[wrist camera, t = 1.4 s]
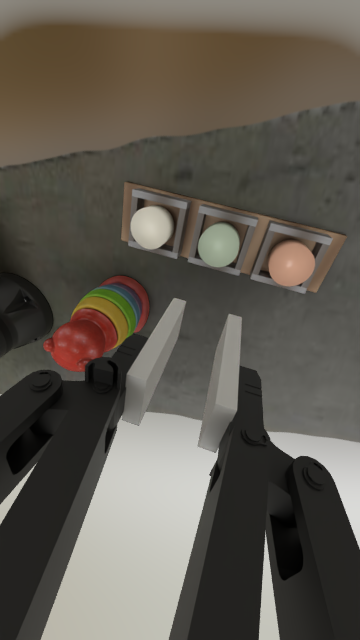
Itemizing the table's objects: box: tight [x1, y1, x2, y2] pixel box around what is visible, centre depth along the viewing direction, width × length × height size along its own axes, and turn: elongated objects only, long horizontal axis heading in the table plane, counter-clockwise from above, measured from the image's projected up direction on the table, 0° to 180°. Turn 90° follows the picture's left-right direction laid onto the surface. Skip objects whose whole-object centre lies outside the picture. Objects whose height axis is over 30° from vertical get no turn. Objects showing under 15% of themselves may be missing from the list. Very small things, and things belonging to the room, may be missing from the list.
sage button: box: [198, 222, 240, 267], centre depth 31 cm, size 5×5×3 cm
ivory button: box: [131, 205, 174, 249], centre depth 32 cm, size 5×5×3 cm
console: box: [121, 182, 347, 294], centre depth 34 cm, size 30×8×4 cm, turn 79°
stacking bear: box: [43, 276, 149, 372], centre depth 37 cm, size 11×10×18 cm
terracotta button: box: [268, 240, 315, 286], centre depth 30 cm, size 5×5×3 cm
